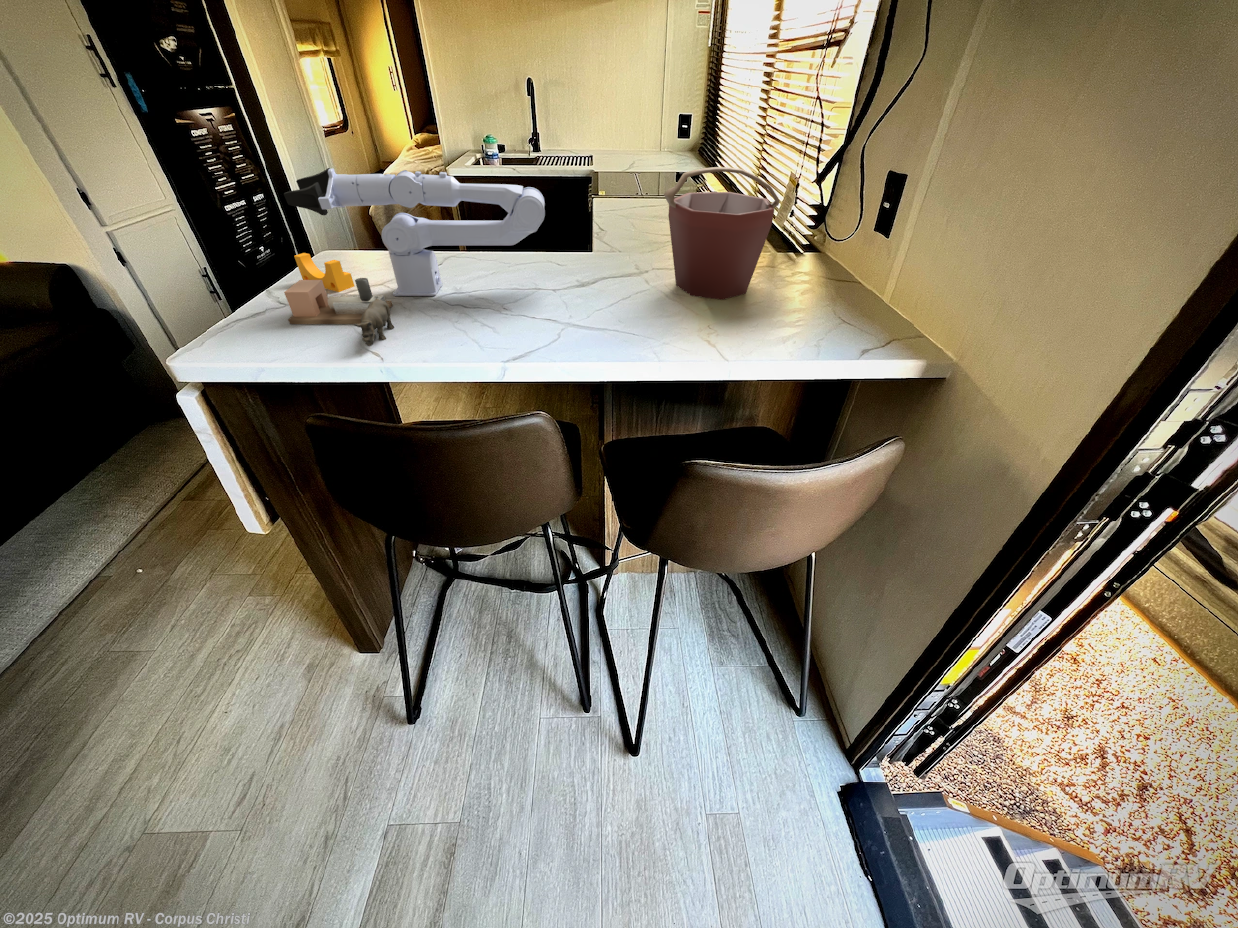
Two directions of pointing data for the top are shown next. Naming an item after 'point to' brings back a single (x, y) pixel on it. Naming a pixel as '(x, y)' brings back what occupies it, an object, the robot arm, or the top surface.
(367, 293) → the bolt
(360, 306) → the channel
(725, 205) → the bucket
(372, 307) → the rhino figurine
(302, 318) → the board
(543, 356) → the top surface
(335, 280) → the orange piece
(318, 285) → the socket
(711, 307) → the top surface
